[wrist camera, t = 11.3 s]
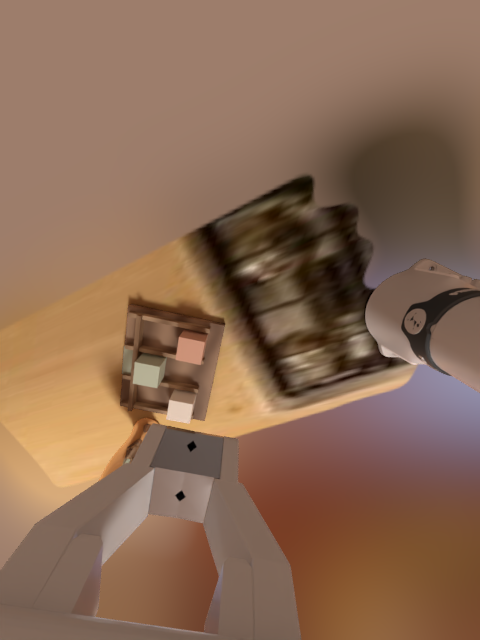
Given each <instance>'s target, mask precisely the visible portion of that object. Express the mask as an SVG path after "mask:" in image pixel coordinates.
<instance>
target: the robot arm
mask: <svg viewBox="0 0 480 640" xmlns="http://www.w3.org/2000/svg"><path fill="white" fill-rule="evenodd" d="M430 267H431V270H429V268H430ZM365 320H366V325H367V328H368V330H369V332H370V333H371V335H372V336H373V337H374V338H375V339H376V341H377V342H378V347H379V350H380V353H381V354H382V355H384V356H386V357H400V358H402V359H404V360H405V361H407V362H409V363H411V364H413V365H416V364H426V365H428V366H429V367H431V368H433V369H435V370H437V371H439V372H441V373H443V374H446V375H449V376H453V377H455V378H456V379H458V380H460V381H461V382H463V383H465V384H466V385H468V386H469V387H471V388H472V389H474V390H476V391H477V392H479V393H480V280H477V279H474V280H472V278H470V277H467V276H462V275H460V274H458V273H456V272H454V271H452V270H450V269H448V268H446V267H444V266H442V265H440V264H438V263H436V262H434V261H432V260H429V259H421V260H420V261H418V262H417V263H415V264H414V265H413V266H411V267H410V268H409V269H408V270H405V271H403V272H401V273H397V274H395V275H393V276H391V277H389V278H388V279H386V280H385V281H383V282H382V283H381V284H380V285H379V286H378V287H377V288H376V289H375V290H374V292H373V293H372V295H371V296H370V298H369V301H368V303H367V306H366V312H365ZM238 447H239V441H238V439H236V438H230V437H223V436H218V435H212V434H207V433H201V432H195V431H190V430H185V429H181V428H176V427H171V426H165V425H160V424H156V423H153V424H152V425H151V426H150V428H149V430H148V431H147V433H146V435H145V437H144V439H143V441H142V443H141V445H140V447H139V449H138V451H137V453H136V455H135V457H134V458H133V460H132V462H131V464H129V463H125V464H124V465H122V466H121V467H119V468H118V469H116V470H115V471H113V472H112V473H110V474H109V475H107V476H106V477H104V478H103V479H101V480H100V481H98V482H97V483H95V484H94V485H92V486H91V487H89V488H88V489H87V490H85V491H84V492H82V493H80V494H79V495H78V496H76V497H75V498H73V499H72V500H70V501H69V502H67V503H66V504H64V505H63V506H61V507H60V508H58V509H57V510H55V511H54V512H52V513H51V514H49V515H48V516H46V517H45V518H43V519H42V520H40V521H39V522H37V523H36V524H35V525H34V526H33V528H32V529H31V530H30V532H29V533H28V534H27V536H26V537H25V539H24V540H23V541H22V542H21V544H20V545H19V546H18V548H17V549H16V550H15V552H14V553H13V554H12V556H11V557H10V558H9V560H8V561H7V562H6V564H5V565H4V566H3V568H2V569H1V570H0V640H301V635H300V628H299V621H298V614H297V607H296V601H295V595H294V587H293V580H292V574H291V567H290V564H289V562H288V561H287V559H286V557H285V556H284V554H283V552H282V550H281V549H280V547H279V545H278V543H277V542H276V540H275V538H274V537H273V535H272V534H271V532H270V530H269V528H268V527H267V525H266V523H265V521H264V520H263V518H262V516H261V515H260V513H259V511H258V509H257V508H256V506H255V504H254V503H253V501H252V499H251V497H250V496H249V494H248V492H247V491H246V489H245V487H244V485H243V484H241V483H238V450H239V448H238ZM148 514H153V515H160V516H167V517H175V518H181V519H185V520H190V521H195V522H200V523H204V524H203V526H204V529H205V532H206V535H207V538H208V542H209V545H210V548H211V551H212V555H213V558H214V561H215V564H216V568H217V571H218V574H219V580H218V583H217V586H216V589H215V592H214V596H213V599H212V602H211V606H210V609H209V612H208V615H207V618H206V622H205V628H204V629H205V630H204V633H202V632H196V631H189V630H182V629H175V628H168V627H160V626H154V625H147V624H140V623H133V622H126V621H119V620H111V619H105V618H98V617H95V615H96V613H97V610H98V605H99V593H100V592H99V591H100V579H101V566H102V565H103V563H105V562H106V560H107V559H108V558H109V557H110V556H111V555H112V554H113V553H114V552H115V551H116V550H117V549H118V548H119V546H120V545H121V544H122V543H123V542H124V541H125V540H126V539H127V538H128V537H129V536H130V534H131V533H132V532H133V531H134V530H135V529H136V528H137V527H138V526H139V525H140V524H141V523H142V522H143V521H144V519H145V518H146V517H147V516H148Z"/></svg>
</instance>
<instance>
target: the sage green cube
mask: <svg viewBox="0 0 480 640" xmlns="http://www.w3.org/2000/svg"><path fill="white" fill-rule="evenodd" d="M166 359H167V357H163V356H159V355H154V354H149V353H143V354H142V355H141V356H140V357H139V358H138V359H137V360H136V361H135V366H134V376H133V384H137V385H143V386H148V387H153V388H158V386H159V384H160V383H161V381H162V379H163V378H164V373H165V366H166Z"/></svg>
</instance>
